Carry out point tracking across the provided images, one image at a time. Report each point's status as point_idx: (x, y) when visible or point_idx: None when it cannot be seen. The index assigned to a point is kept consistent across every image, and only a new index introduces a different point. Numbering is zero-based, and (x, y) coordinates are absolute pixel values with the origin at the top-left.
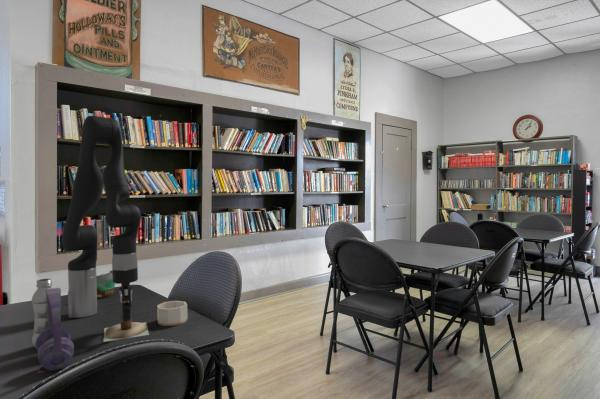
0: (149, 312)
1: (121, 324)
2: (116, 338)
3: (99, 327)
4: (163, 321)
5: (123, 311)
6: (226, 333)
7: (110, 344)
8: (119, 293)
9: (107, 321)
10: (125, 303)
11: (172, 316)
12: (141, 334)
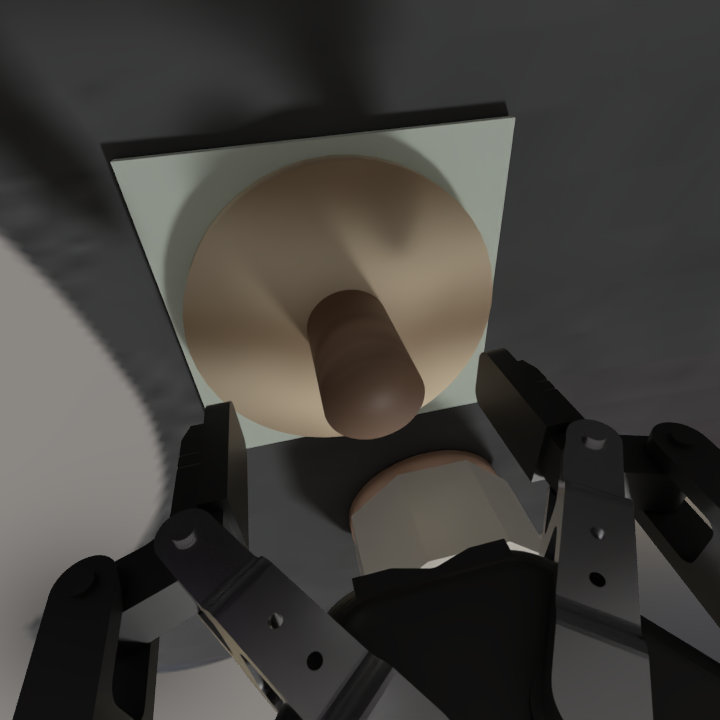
0: (671, 381)
1: (331, 323)
2: (183, 268)
3: (597, 52)
4: (377, 506)
5: (198, 487)
6: (182, 666)
7: (70, 230)
8: (358, 702)
9: (712, 116)
10: (532, 442)
11: (361, 568)
12: (237, 415)
